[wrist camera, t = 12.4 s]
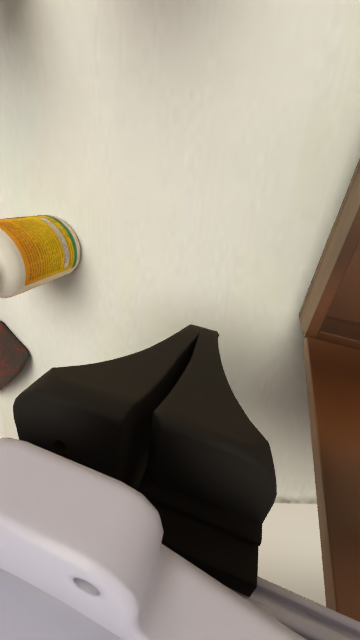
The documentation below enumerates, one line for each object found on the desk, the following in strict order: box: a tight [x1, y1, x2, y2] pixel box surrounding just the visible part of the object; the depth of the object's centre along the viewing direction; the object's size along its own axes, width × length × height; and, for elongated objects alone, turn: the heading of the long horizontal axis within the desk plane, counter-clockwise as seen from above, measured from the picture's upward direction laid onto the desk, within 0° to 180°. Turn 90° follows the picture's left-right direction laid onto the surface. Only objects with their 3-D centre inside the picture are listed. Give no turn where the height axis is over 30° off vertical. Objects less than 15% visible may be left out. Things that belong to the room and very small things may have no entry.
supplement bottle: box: [0, 215, 80, 298], centre depth 20 cm, size 5×5×10 cm
